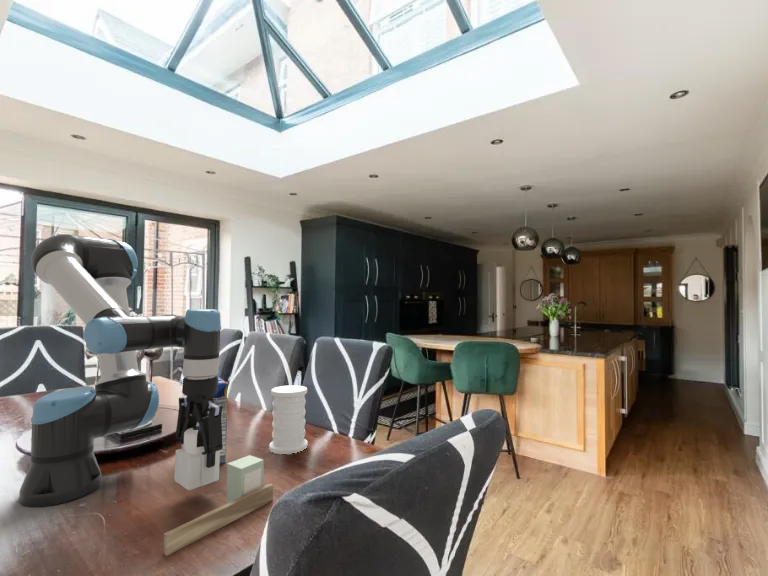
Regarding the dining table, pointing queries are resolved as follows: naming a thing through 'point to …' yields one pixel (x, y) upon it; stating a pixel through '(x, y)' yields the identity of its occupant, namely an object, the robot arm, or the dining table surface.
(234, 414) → the dining table surface
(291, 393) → the decorative container
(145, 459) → the dining table surface
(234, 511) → the rail
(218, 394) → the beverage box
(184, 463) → the medicine bottle
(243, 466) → the sage carton
